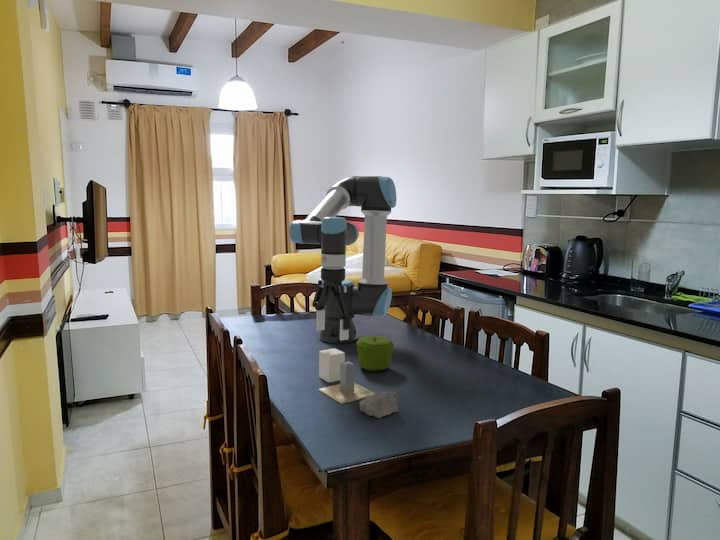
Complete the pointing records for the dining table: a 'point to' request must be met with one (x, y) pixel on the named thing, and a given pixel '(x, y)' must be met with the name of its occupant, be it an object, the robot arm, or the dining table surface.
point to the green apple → (374, 352)
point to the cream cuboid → (330, 364)
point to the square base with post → (346, 386)
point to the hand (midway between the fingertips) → (331, 334)
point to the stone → (379, 404)
